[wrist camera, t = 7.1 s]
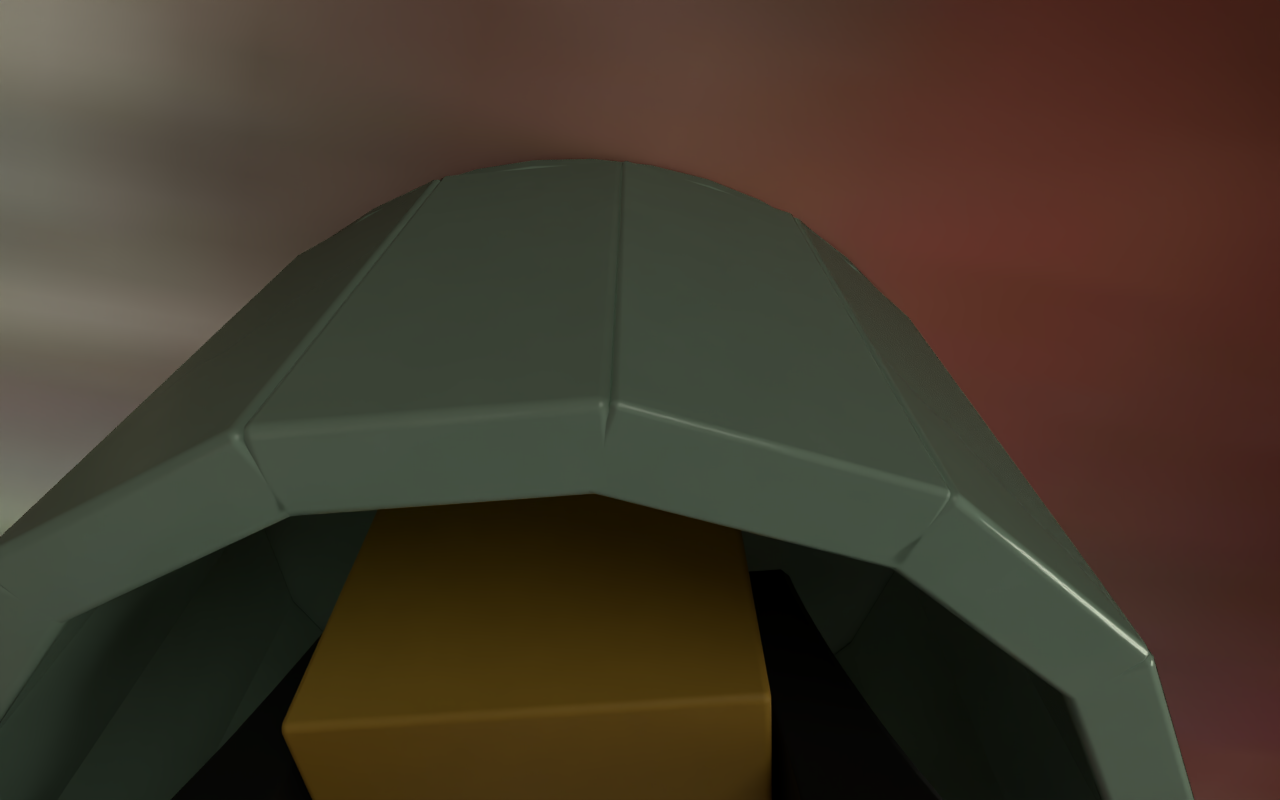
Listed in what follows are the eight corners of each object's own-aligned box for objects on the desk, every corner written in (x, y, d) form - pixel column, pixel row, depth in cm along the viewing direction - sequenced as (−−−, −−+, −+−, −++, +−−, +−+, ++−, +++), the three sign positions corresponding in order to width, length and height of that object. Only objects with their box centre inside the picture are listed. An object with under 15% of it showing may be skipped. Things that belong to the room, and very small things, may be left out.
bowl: (913, 727, 16) (1065, 1157, 10) (336, 762, 16) (181, 1195, 11) (986, 119, 10) (1414, 339, 5) (100, 197, 11) (-490, 487, 5)
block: (732, 662, 13) (774, 963, 9) (462, 680, 13) (392, 983, 9) (723, 429, 11) (772, 697, 7) (399, 454, 11) (274, 729, 7)
